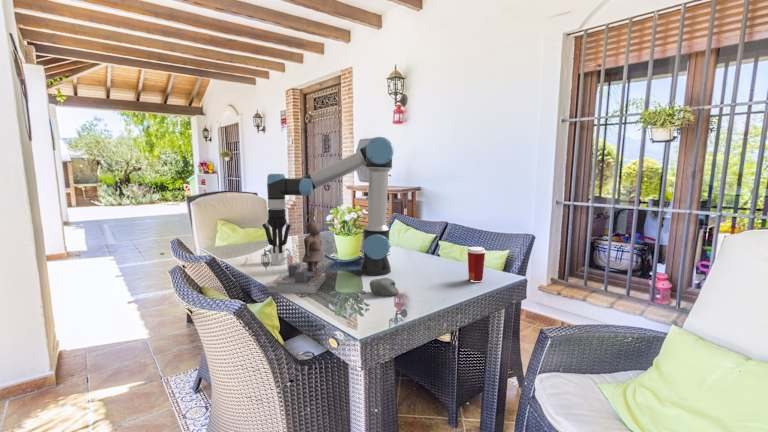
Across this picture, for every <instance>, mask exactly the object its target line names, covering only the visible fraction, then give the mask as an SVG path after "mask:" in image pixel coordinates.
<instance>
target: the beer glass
mask: <svg viewBox="0 0 768 432" xmlns="http://www.w3.org/2000/svg"><path fill="white" fill-rule="evenodd" d="M466 252H467V267H468V280H469V279H470V280H473V281H481V280H482V279H484V270H485V269H484V267H485V259H486V252H487V251H486V250H485V248H484V247H482V246H469V247H468V248H467V250H466ZM482 281H483V280H482Z"/></svg>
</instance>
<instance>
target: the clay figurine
mask: <svg viewBox="0 0 768 432" xmlns="http://www.w3.org/2000/svg"><path fill="white" fill-rule="evenodd" d="M305 228H306V230H307V231H309V235H307V236H305V237H304V239H303V243H304V254H303V257H302V262H303V263H306V264H307V268H306V269H307V271H316V270H319V269H320V267H319V266H318V265H319V263H320V262H321V261H323V260H324V259H325V253H324V252H323V251H322V244H323V243H322V241H323V239H322V235H321V231H320V224H319V223H318V222H316V221H315V220H314V221H308V222H307V223H306V224H305Z"/></svg>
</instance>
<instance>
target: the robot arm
mask: <svg viewBox="0 0 768 432" xmlns="http://www.w3.org/2000/svg"><path fill="white" fill-rule="evenodd" d="M394 150H395V149H394V145H393V143H392V142H391V140H390V139H387V138H386V137H383V136H376V137H373V138H372V139H370V140H369V141H368V142H367V144H366V145H365V146H362V147H361V148H358V151H357V152H355V153H353V154H351V155H349V156H346V157H344V158H342V159H340V160H338V161H335V162H333V163H331V164H329V165H326V166H324V167H321V168H320V169H317V170H316V171H313V172H311V173H309V174H307V175H304V176H302V177H297V178H295V177H294V178H288V177H285V174H284V173H269V174H268V175H267V179H266V186H267V189H266V190H267V208H268V210H267V218H268V219H267V222H265V223H262V227H263V229H264V231H265V235H266V239H267V243H268V245H269V246H273V253H275V261H279V260H281V253H282V252H283V250H282V246H283V245H287V243H288V237H289V235H290V229H291V228H292V226H293V225H292V223H289V222H288V220H287V219H286V217H287V216H286V215H287V214H286V213H287V212H286V209H285V208H286V196H303V197H305V196H311V195H313V190H315V189H317V188H321V187H322V186H324V185H327V184H329V183H331V182H334V181H335V180H338V179H340V178H342V177H344V176H347V175H350V174H351V173H353V172H356V171H359V170H361V169H363V168H365V169H367V172H368V194H367V195H368V198H367V222H366V223H367V224H366V225H365V226H363V229H362V230H363V231H362V233H363V234H362V235H363V237H362V238H363V239H362V240H363V244H362V248H363V249H362V250H363V257H362V261H361V265H360V268H359V270H360V273H361V274H363V275H365V276H385V275H388V274H389V273H391V270H392V269H391V264H390V262H389V258H388V253H389V252H390V249H391V248H390V247H391V244H390V228H389V226H388V225H387V218H388V216H387V215H388V212H387V211H388V190H389V189H388V188H389V185H388V184H389V172H390V171H391V170H392V169H393V156H394V152H395V151H394ZM284 227H285V230H284V231H283V229H284ZM270 228H271V229H270ZM277 245H278V246H277Z"/></svg>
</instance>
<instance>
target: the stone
mask: <svg viewBox="0 0 768 432" xmlns="http://www.w3.org/2000/svg"><path fill="white" fill-rule="evenodd" d="M369 289H370V291H371V292H370V293H371V294H372V295H374V296H375V297H386V296H388V297H396V296H398V295H399V293H400V292H399V289H398V288H397V287H396V282H395V281H394V280H393V279H392V278H389V277H382V278H376V279H372V280H371V281H370V282H369ZM397 294H398V295H397Z"/></svg>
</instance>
